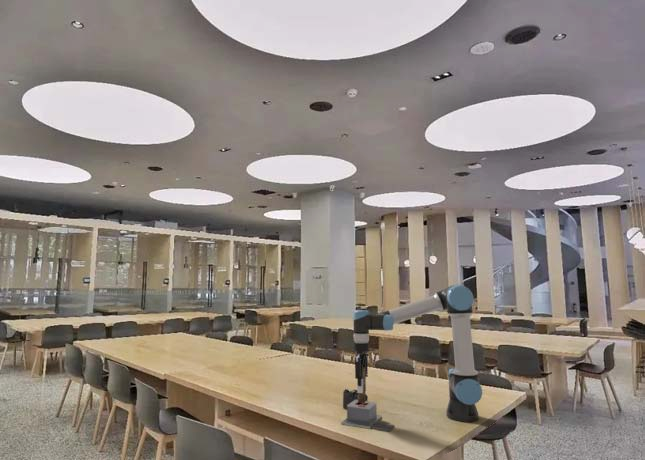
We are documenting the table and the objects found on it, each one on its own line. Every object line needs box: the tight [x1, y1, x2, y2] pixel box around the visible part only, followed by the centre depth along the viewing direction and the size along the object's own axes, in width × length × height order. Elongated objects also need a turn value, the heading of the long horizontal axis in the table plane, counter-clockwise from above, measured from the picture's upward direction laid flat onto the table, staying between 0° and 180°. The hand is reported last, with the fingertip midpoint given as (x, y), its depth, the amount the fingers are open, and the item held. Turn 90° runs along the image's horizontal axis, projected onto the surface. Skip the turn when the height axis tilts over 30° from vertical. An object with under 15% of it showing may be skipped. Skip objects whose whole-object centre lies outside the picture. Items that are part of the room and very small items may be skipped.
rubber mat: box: [371, 421, 395, 433], centre depth 184 cm, size 8×8×1 cm
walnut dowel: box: [358, 367, 366, 403], centre depth 196 cm, size 4×4×16 cm
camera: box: [342, 388, 369, 411], centre depth 212 cm, size 14×11×10 cm
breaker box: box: [341, 400, 382, 429], centre depth 194 cm, size 14×18×8 cm
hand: (361, 391), depth 195 cm, fingers closed on walnut dowel, 3 cm apart
